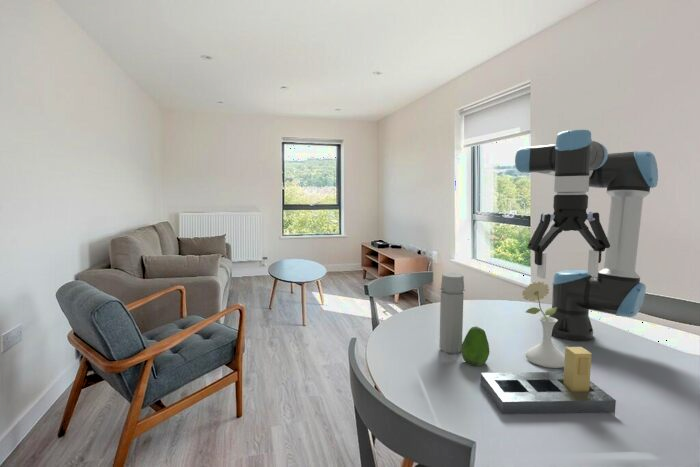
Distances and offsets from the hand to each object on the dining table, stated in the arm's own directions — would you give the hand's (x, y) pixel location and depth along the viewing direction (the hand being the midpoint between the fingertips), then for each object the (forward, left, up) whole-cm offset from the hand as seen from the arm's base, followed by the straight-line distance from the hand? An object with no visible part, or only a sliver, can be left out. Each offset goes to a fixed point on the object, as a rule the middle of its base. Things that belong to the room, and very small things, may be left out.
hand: (566, 276), depth 99 cm
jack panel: (+9, +7, -30) cm, 32 cm away
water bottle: (+23, -25, -30) cm, 45 cm away
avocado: (+19, -13, -30) cm, 37 cm away
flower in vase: (-2, -14, -30) cm, 33 cm away
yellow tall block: (+1, +7, -29) cm, 30 cm away
